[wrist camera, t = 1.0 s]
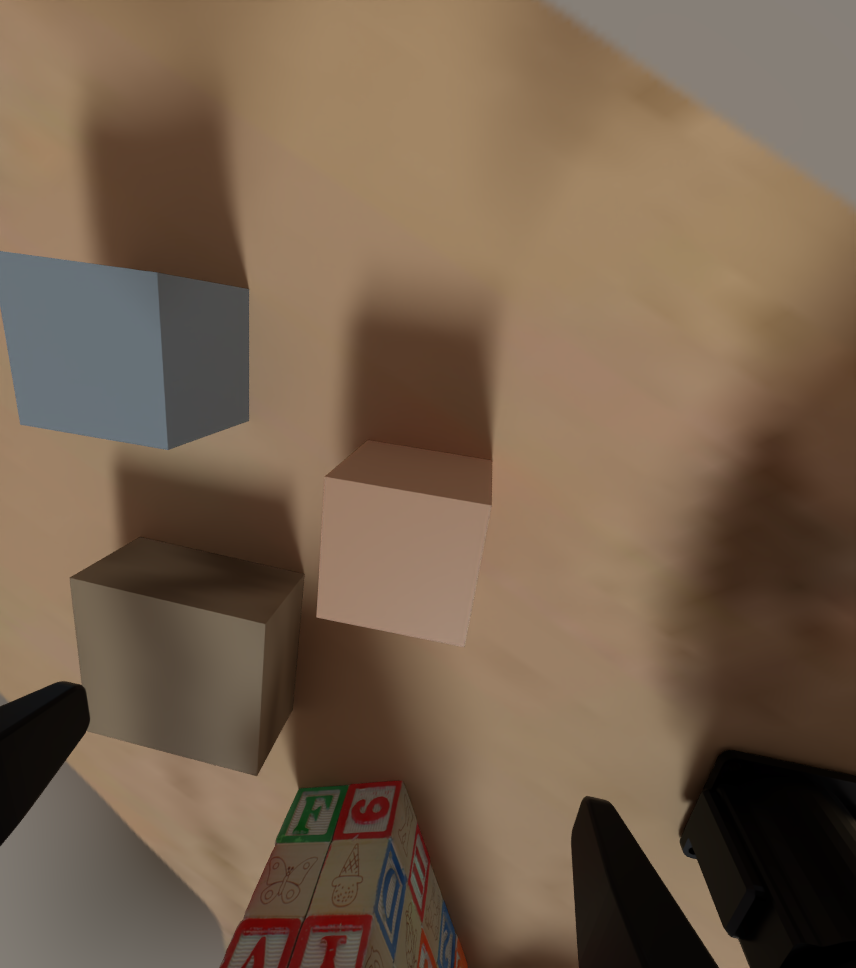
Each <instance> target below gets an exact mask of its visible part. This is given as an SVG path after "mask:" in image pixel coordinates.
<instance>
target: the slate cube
mask: <svg viewBox="0 0 856 968" xmlns="http://www.w3.org/2000/svg"><path fill="white" fill-rule="evenodd" d="M0 307H1V313H2V319H3V324H4V330H5V336H6V342H7V348H8V354H9V360H10V366H11V372H12V378H13V384H14V390H15V396H16V401H17V407H18V413H19V419H20V425H26V426H32V427H38V428H44V429H49V430H55V431H61V432H67V433H73V434H78V435H84V436H90V437H96V438H102V439H108V440H113V441H119V442H125V443H131V444H137V445H142V446H148V447H154V448H160V449H166V450H169V449H172V448H174V447H177V446H180V445H183V444H186V443H188V442H191V441H194V440H197V439H200V438H202V437H205V436H208V435H211V434H214V433H216V432H219V431H222V430H225V429H227V428H230V427H233V426H236V425H239V424H241V423H244V422H247V421H249V289H246V288H240V287H234V286H229V285H223V284H218V283H212V282H207V281H201V280H196V279H190V278H185V277H179V276H173V275H168V274H162V273H157V272H149V271H142V270H135V269H127V268H120V267H113V266H105V265H98V264H91V263H83V262H76V261H69V260H61V259H54V258H47V257H39V256H32V255H25V254H17V253H10V252H3V251H0Z"/></svg>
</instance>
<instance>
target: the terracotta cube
mask: <svg viewBox="0 0 856 968" xmlns="http://www.w3.org/2000/svg"><path fill="white" fill-rule="evenodd" d="M491 507H492V460H487V459H481V458H475V457H469V456H463V455H457V454H450V453H444V452H438V451H432V450H426V449H420V448H414V447H408V446H402V445H395V444H389V443H383V442H377V441H371V440H367V441H366V442H365V443H364V444H363V445H361V446H360V447H359V448H358V449H357V450H355V451H354V452H353V453H352V454H351V455H350V456H348V457H347V458H346V459H345V460H344V461H343V462H341V463H340V464H339V465H338V466H337V467H336V468H334V469H333V470H332V471H331V472H330V473H328V474H327V475H326V476H325V480H324V497H323V514H322V531H321V548H320V565H319V582H318V599H317V616H316V617H317V618H322V619H327V620H332V621H337V622H342V623H347V624H352V625H356V626H361V627H366V628H371V629H376V630H381V631H386V632H391V633H396V634H401V635H406V636H411V637H416V638H421V639H426V640H431V641H436V642H441V643H446V644H451V645H456V646H461V647H465V642H466V637H467V632H468V626H469V621H470V616H471V611H472V605H473V600H474V595H475V590H476V585H477V579H478V574H479V569H480V564H481V559H482V553H483V548H484V543H485V538H486V533H487V527H488V522H489V517H490V512H491Z"/></svg>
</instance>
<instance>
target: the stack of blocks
mask: <svg viewBox="0 0 856 968" xmlns="http://www.w3.org/2000/svg"><path fill="white" fill-rule="evenodd" d="M219 968H468V965H467V961H466V958H465V955H464V952H463V949H462V946H461V944H460V941H459V938H458V935H457V934H455V930H454V927H453V924H452V922H451V919H450V916H449V913H448V911H447V908H446V905H445V902H444V900H443V899H442V895H441V892H440V889H439V886H438V883H437V880H436V878H435V875H434V872H433V869H432V867H431V864H430V858H429V855H428V852H427V849H426V846H425V843H424V840H423V837H422V835H421V832H420V829H419V826H418V823H417V820H416V816H415V813H414V810H413V807H412V805H411V802H410V799H409V796H408V793H407V790H406V787H405V785H404V782H403V781H387V782H374V783H361V784H351V785H344V786H329V787H314V788H300V789H299V790H298V792H297V794H296V796H295V798H294V801H293V803H292V805H291V807H290V809H289V811H288V813H287V816H286V818H285V820H284V822H283V825H282V827H281V829H280V832H279V834H278V836H277V838H276V841H275V847H274V849H273V851H272V853H271V855H270V858H269V860H268V862H267V864H266V866H265V869H264V871H263V873H262V875H261V878H260V880H259V882H258V884H257V886H256V889H255V891H254V893H253V895H252V898H251V900H250V903H249V905H248V907H247V910H246V912H245V915H244V919H243V920H242V921H241V922H240V923H239V925H238V926H237V929H236V931H235V933H234V935H233V938H232V940H231V942H230V944H229V946H228V948H227V951H226V954H225V957H224V959H223V961H222V963H221V965H220V967H219Z"/></svg>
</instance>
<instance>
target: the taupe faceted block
mask: <svg viewBox="0 0 856 968" xmlns="http://www.w3.org/2000/svg"><path fill="white" fill-rule="evenodd" d="M304 575H305V574H302V573H298V572H293V571H289V570H284V569H280V568H275V567H271V566H266V565H262V564H258V563H253V562H249V561H244V560H240V559H235V558H231V557H227V556H222V555H218V554H213V553H209V552H204V551H200V550H195V549H191V548H187V547H182V546H178V545H173V544H169V543H164V542H160V541H156V540H151V539H147V538H142V537H139V538H137V539H136V540H134V541H132V542H130V543H129V544H127V545H125V546H124V547H122V548H120V549H118V550H117V551H115V552H113V553H111V554H110V555H108V556H106V557H105V558H103V559H101V560H99V561H98V562H96V563H94V564H92V565H91V566H89V567H87V568H86V569H84V570H82V571H80V572H79V573H77V574H75V575H73V576H72V577H70V586H71V595H72V604H73V612H74V621H75V630H76V639H77V647H78V656H79V665H80V673H81V682H82V686H83V687H84V688H85V689H86V693H87V700H88V706H89V712H90V724H89V727H88V729H87V731H88V732H91V733H95V734H99V735H103V736H107V737H110V738H114V739H118V740H122V741H126V742H129V743H133V744H137V745H141V746H145V747H148V748H152V749H156V750H160V751H164V752H167V753H171V754H175V755H179V756H182V757H186V758H190V759H194V760H198V761H201V762H205V763H209V764H213V765H217V766H220V767H224V768H228V769H232V770H236V771H239V772H243V773H247V774H251V775H255V776H257V775H258V773H259V771H260V769H261V768H262V766H263V764H264V762H265V760H266V758H267V756H268V754H269V753H270V751H271V749H272V747H273V745H274V743H275V741H276V740H277V738H278V736H279V734H280V732H281V730H282V728H283V726H284V725H285V723H286V721H287V719H288V717H289V715H290V713H291V711H292V710H293V700H294V689H295V677H296V666H297V654H298V643H299V632H300V620H301V609H302V598H303V586H304Z"/></svg>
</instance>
